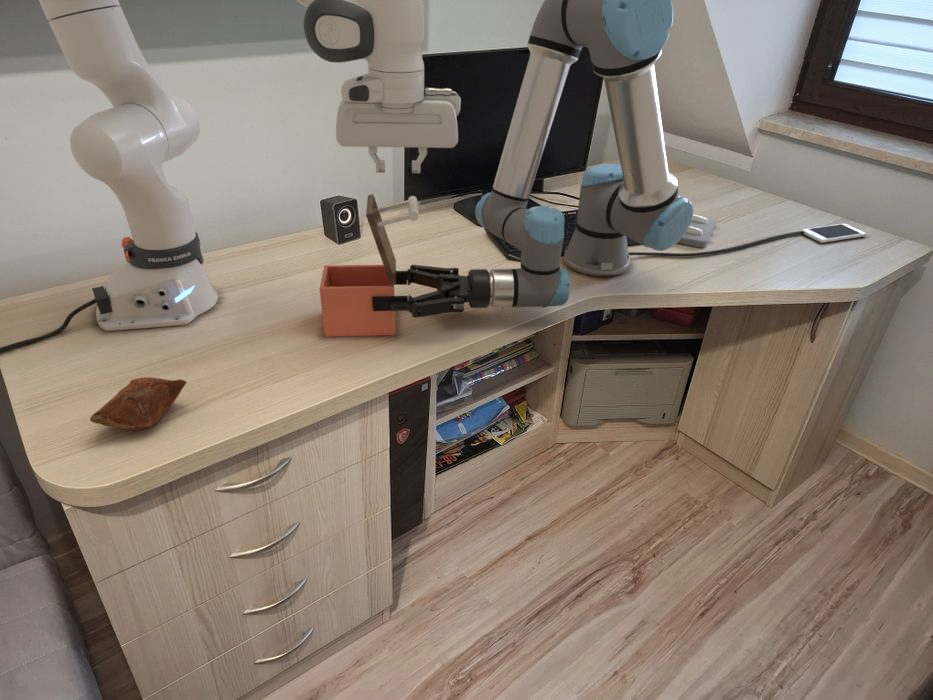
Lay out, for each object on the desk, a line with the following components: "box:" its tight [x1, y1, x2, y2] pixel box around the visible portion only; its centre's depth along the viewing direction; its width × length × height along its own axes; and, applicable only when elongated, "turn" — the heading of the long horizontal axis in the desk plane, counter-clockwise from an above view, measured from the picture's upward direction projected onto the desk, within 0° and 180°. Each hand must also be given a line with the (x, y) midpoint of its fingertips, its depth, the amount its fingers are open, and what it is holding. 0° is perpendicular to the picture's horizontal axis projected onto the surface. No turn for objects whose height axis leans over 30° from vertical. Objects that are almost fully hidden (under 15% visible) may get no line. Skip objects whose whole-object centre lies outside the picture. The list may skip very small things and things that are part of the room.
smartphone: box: [801, 223, 866, 244], centre depth 171 cm, size 7×16×1 cm, turn 111°
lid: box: [365, 193, 420, 285], centre depth 116 cm, size 14×10×9 cm
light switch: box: [676, 214, 716, 249], centre depth 169 cm, size 18×3×15 cm
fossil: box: [89, 376, 188, 431], centre depth 97 cm, size 13×8×10 cm
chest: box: [319, 264, 396, 338], centre depth 123 cm, size 13×10×10 cm
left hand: (398, 172), depth 110 cm, fingers open, 5 cm apart
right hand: (373, 290), depth 122 cm, fingers closed on chest, 9 cm apart
